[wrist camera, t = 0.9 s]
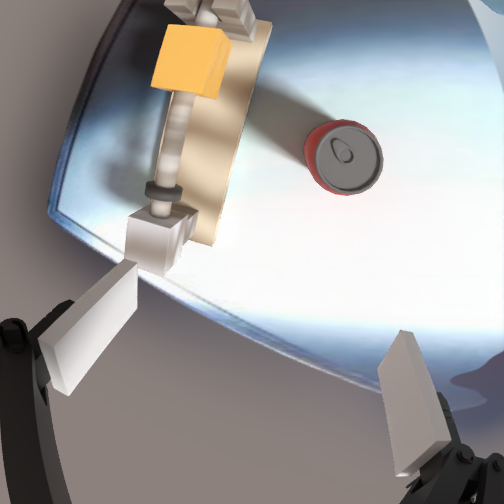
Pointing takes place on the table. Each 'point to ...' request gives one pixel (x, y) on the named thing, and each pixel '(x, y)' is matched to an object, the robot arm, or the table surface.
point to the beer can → (343, 157)
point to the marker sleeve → (192, 60)
